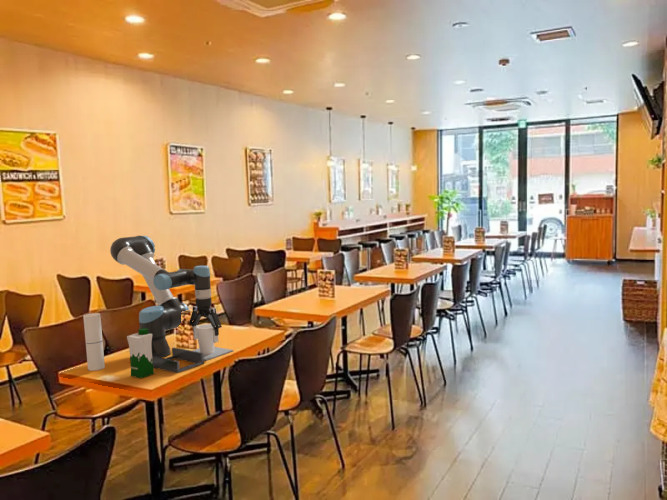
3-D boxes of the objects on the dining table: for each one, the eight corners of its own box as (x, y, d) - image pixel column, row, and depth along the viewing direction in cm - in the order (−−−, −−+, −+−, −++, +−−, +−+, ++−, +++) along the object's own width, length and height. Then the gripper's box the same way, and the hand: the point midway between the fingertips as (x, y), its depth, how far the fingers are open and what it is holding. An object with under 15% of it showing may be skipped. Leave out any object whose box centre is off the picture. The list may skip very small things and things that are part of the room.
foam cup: (195, 351, 282) (194, 325, 280) (214, 348, 286) (212, 323, 284) (199, 356, 273) (197, 329, 272) (218, 353, 277) (217, 327, 276)
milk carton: (157, 373, 251) (154, 329, 249) (140, 379, 244) (136, 333, 242) (144, 370, 256) (141, 327, 254) (127, 376, 248) (123, 331, 246)
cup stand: (147, 366, 262) (147, 355, 262) (174, 357, 275) (173, 347, 274) (177, 373, 251) (176, 361, 250) (204, 363, 263) (203, 352, 263)
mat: (180, 355, 277) (180, 354, 277) (207, 346, 292) (207, 345, 292) (206, 360, 267) (205, 359, 267) (233, 351, 282) (233, 350, 282)
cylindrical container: (94, 371, 258) (90, 317, 255) (84, 369, 261) (79, 315, 259) (108, 366, 264) (103, 313, 261) (97, 365, 267) (93, 312, 265)
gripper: (180, 297, 281) (182, 339, 283) (215, 301, 267) (218, 345, 269) (191, 294, 287) (194, 335, 289) (227, 298, 273) (230, 341, 275)
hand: (206, 340), depth 279 cm, fingers open, 13 cm apart
